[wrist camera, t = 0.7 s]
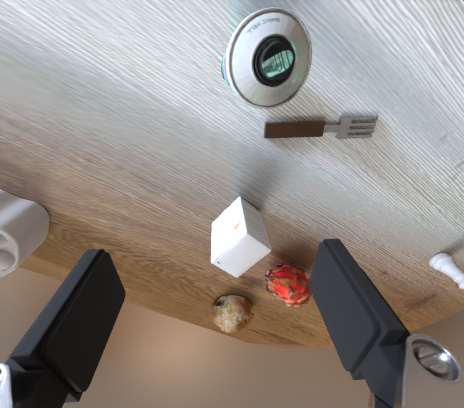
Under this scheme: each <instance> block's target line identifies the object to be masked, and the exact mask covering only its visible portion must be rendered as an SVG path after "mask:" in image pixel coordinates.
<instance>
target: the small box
mask: <svg viewBox="0 0 464 408" xmlns="http://www.w3.org/2000/svg"><path fill="white" fill-rule="evenodd" d="M271 251H272V248H271V245H270V242H269V239H268V236H267V232H266V229H265V226H264V223H263V220H262V217H261V214H260V212H259V211H258V210H256V209H255V208H254V207H253V206H251V205H250V204H249V203H248V202H246V201H245V200H244V199H242V198H241V197H238V198H237V199H236V200H235V201H234V202H233V203H232V204H231V205H230V206H229V207H228V208H227V209H226V210H225V211H224V212H223V213H222V214H221V215H220V216H219V217H218V218H217V219H216V220H215V221H214V222H213V223H212V243H211V263H212V264H214V265H216V266H217V267H219V268H221V269H222V270H224V271H226V272H228V273H229V274H231V275H233V276H235V277H236V278H238V277H239V276H240V275H241V274H243V273H244V272H245V271H246V270H248V269H249V268H250V267H251V266H253V265H254V264H255V263H257V262H258V261H259V260H260V259H262V258H263V257H264V256H265V255H267V254H268V253H269V252H271Z"/></svg>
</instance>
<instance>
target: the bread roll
mask: <svg viewBox="0 0 464 408" xmlns="http://www.w3.org/2000/svg"><path fill="white" fill-rule="evenodd" d="M251 313H252V311H251V305H250V303H249V302H248V301H247V300H246V299H245V298H244V297H240V296H236V295H229V296H222V297H220V298H219V300H218V301H217V302H216V303H215V305H214V306H213V308H212V318H213V321H214V322H215V324H216V325H217V326H218V327H219V328H220V329H221V330H222V331H226V332H230V333H235V332H239V331H242V330H243V329H245V328H246V327H247V326H248V325H249V324H250V323H251V319H252V318H253V315H254V314H253V313H252V314H251Z"/></svg>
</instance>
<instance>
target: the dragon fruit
mask: <svg viewBox="0 0 464 408" xmlns="http://www.w3.org/2000/svg"><path fill="white" fill-rule="evenodd" d="M274 266H277V267H278V268H277V269H275V270H268V272H267V275H265V276H266V277H267V279H265V280H266V281H267V283H268V284H267V286H266V287H267V288H266V290H267V291H269V290H273V291H276V292H277V294H275V293H274V292H272V291H269V292H270V293H273V295H274V296H276V297H277V298H278V299H279V300H284V301H285V303H286V306H287V307H290V306H291V305H292V304H294V306H295V307H302V305H303V304H307V303H308V301H309V297H310V296H311V295H312V292H311V290H310V287H309V280H310V278H308V279H307V278H306V277H305V275H304V271H303V270H302V269H301V268H300V267H299V266H296V267H295V268H294V267H290V266H289V265H284V264H276V265H274Z"/></svg>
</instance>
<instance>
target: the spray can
mask: <svg viewBox="0 0 464 408" xmlns="http://www.w3.org/2000/svg"><path fill="white" fill-rule="evenodd" d="M311 61H312V47H311V40H310V37H309V33H308V31H307V29H306V27H305V25H304V24H303V22H302V21H301V20H300V19H299V18H298V17H297V16H296V15H295V14H293V13H292V12H291V11H288V10H286V9H284V8H278V7H270V8H264V9H261V10H259V11H257V12H254V13H252V14H251V15H249V16H248V17H247V18H245V19H244V20H243V21H242V22H241V23H240V24H239V26H238V27H237V29H236V30H235V32H234V33H233V35H232V37H231V40H230V42H229V45H228V47H227V50H226V52H225V55H224V57H223V60H222V68H221V69H222V75H223V78H224V80H225V82H226V84H227V85H228V86H229V87H230V88H231V90H232V91H233V92H234V93H235V94H236V95H237V96H238V97H239V98H240V99H241V100H242V101H243V102H244V103H246V104H248V105H250V106H252V107H255V108H261V109H269V108H275V107H278V106H281V105H283V104H285V103H286V102H288V101H290V100H291V99H292V98H293V97H294V96H295V95H296V94H297V93H298V92H299V91H300V89H301V88H302V86H303V84H304V83H305V81H306V79H307V76H308V74H309V71H310V66H311Z"/></svg>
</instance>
